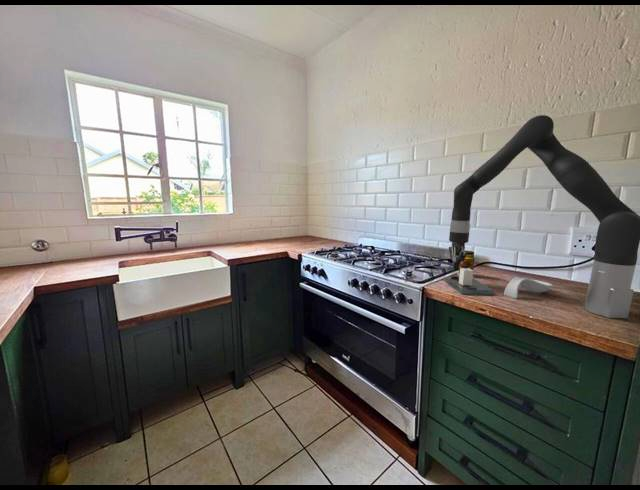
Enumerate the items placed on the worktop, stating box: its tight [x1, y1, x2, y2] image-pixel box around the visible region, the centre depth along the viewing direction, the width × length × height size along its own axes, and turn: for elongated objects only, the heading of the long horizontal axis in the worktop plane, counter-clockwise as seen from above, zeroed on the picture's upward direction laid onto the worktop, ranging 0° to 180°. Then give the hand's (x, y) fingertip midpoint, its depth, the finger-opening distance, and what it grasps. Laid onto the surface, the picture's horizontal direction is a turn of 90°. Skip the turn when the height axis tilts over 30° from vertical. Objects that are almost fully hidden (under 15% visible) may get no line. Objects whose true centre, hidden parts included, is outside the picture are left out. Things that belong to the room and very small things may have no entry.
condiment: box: [456, 250, 476, 279], centre depth 131 cm, size 7×8×12 cm
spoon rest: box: [503, 276, 554, 299], centre depth 108 cm, size 24×12×7 cm, turn 120°
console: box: [444, 275, 495, 296], centre depth 113 cm, size 16×12×3 cm
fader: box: [459, 268, 474, 286], centre depth 110 cm, size 3×4×6 cm
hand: (455, 270), depth 119 cm, fingers closed
